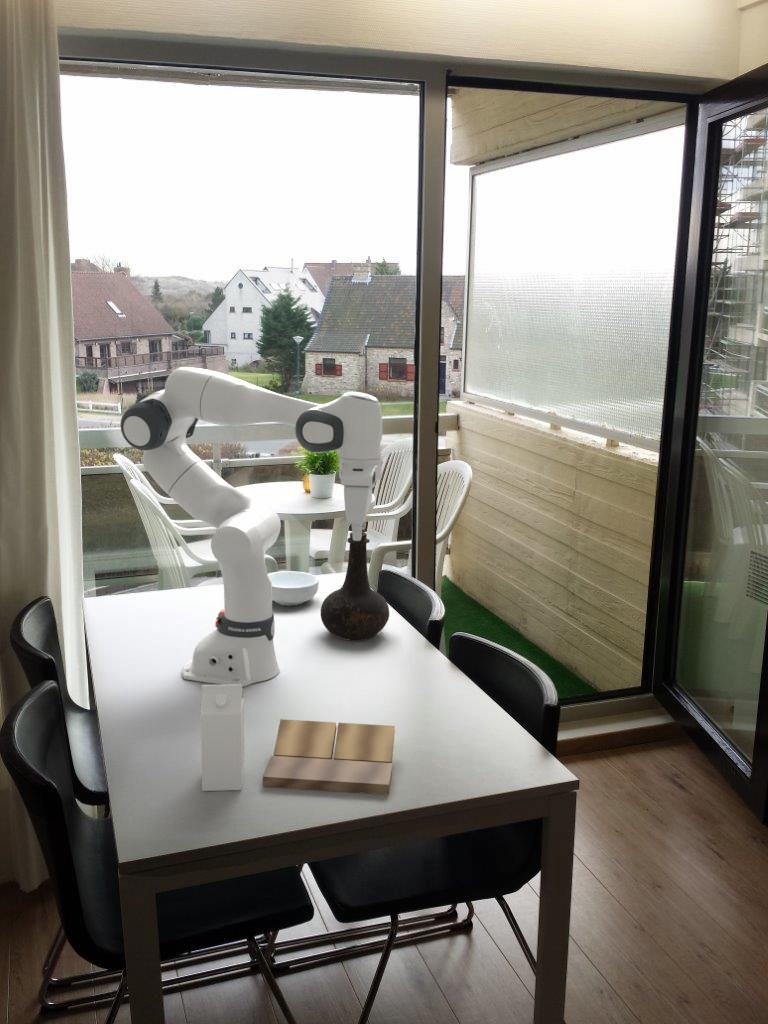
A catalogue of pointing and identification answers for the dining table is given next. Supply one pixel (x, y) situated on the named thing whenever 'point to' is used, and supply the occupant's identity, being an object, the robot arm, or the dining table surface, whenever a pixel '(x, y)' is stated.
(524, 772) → the dining table surface
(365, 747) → the plank
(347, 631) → the dark brown round bottle
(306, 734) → the plank
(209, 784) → the milk carton
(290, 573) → the cereal bowl
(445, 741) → the dining table surface
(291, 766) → the base board
